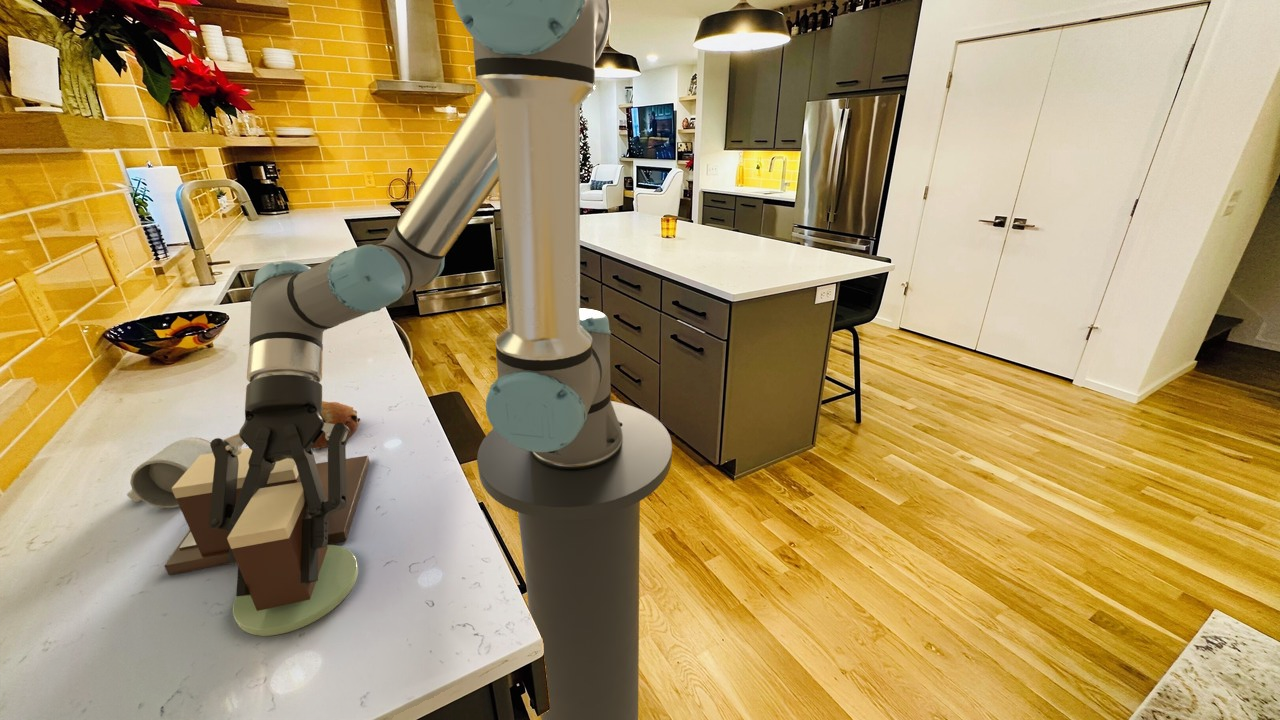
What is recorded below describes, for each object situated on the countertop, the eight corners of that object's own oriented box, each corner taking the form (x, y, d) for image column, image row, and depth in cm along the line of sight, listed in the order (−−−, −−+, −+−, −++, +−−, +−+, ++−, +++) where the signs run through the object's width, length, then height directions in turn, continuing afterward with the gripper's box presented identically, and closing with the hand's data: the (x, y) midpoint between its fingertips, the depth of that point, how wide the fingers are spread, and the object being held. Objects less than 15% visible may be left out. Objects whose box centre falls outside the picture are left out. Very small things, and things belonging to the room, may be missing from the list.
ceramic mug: (233, 470, 78) (216, 428, 75) (204, 504, 71) (183, 459, 68) (154, 480, 76) (133, 437, 73) (116, 516, 69) (90, 470, 66)
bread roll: (316, 440, 93) (284, 409, 89) (367, 410, 95) (337, 379, 90) (307, 469, 85) (271, 437, 81) (363, 436, 86) (330, 403, 82)
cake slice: (328, 547, 61) (307, 480, 57) (310, 599, 54) (285, 527, 50) (281, 556, 60) (256, 488, 56) (256, 611, 53) (226, 538, 49)
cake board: (370, 463, 80) (368, 455, 80) (346, 540, 65) (344, 531, 64) (230, 484, 75) (227, 476, 75) (168, 575, 59) (163, 565, 59)
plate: (366, 541, 65) (364, 535, 64) (347, 618, 54) (345, 612, 54) (258, 563, 61) (256, 556, 61) (215, 649, 51) (212, 642, 50)
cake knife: (228, 480, 74) (226, 473, 73) (244, 477, 74) (242, 471, 74) (179, 549, 61) (176, 542, 61) (199, 546, 62) (195, 538, 61)
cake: (327, 500, 70) (309, 439, 66) (314, 534, 64) (292, 469, 60) (225, 518, 66) (200, 454, 62) (201, 556, 60) (171, 488, 56)
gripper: (375, 384, 67) (381, 568, 59) (213, 402, 61) (196, 607, 54) (359, 363, 60) (363, 568, 52) (176, 381, 55) (150, 612, 47)
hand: (278, 587), depth 53 cm, fingers closed on cake slice, 5 cm apart
